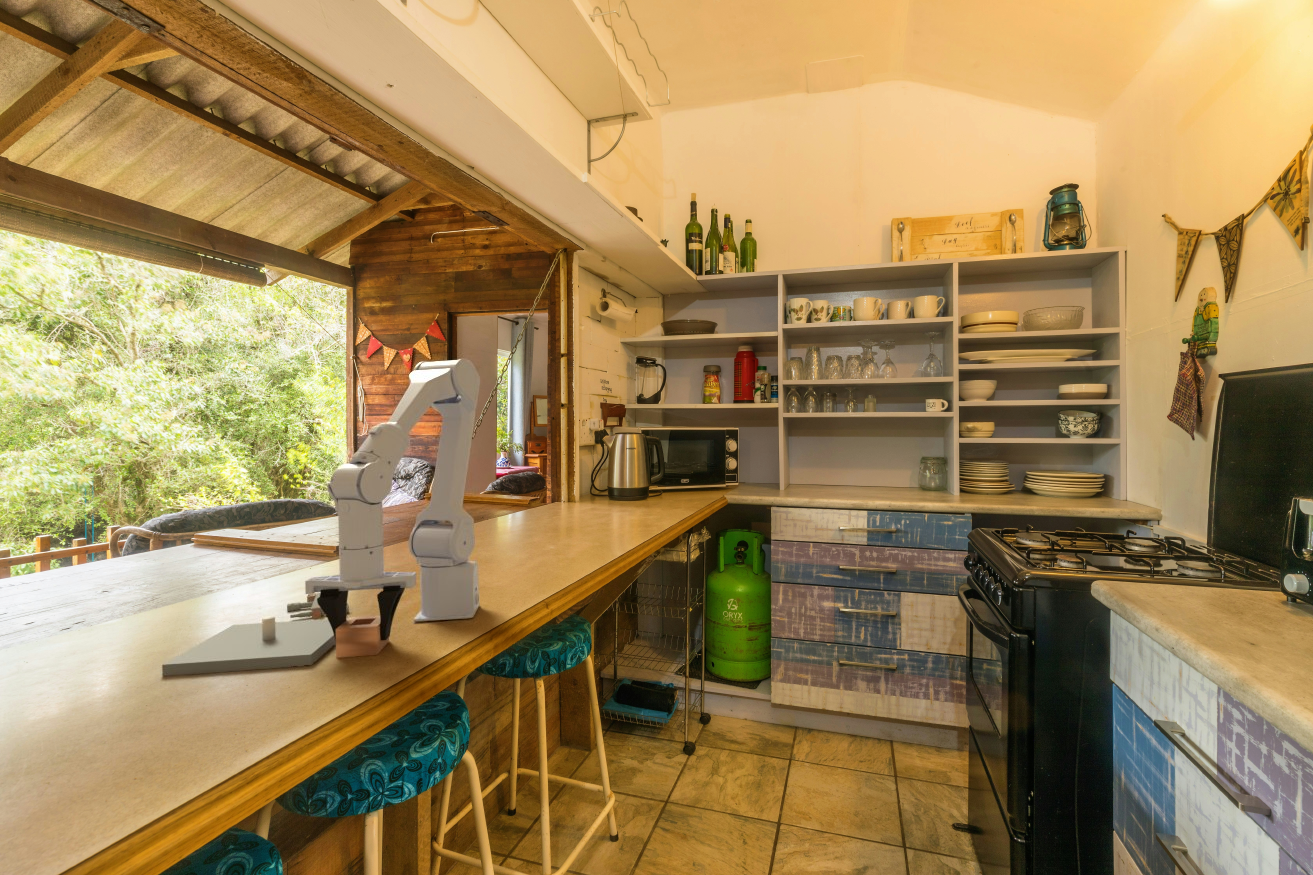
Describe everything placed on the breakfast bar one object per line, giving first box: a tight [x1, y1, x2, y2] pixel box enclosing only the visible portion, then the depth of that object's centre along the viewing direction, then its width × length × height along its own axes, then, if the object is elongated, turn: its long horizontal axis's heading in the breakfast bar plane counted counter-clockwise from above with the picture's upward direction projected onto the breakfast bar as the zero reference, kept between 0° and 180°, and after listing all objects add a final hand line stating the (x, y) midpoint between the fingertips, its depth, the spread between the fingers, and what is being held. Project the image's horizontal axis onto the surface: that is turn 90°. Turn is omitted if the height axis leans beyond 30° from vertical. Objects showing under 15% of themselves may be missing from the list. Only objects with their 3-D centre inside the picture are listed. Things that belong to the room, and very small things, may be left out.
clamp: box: [286, 592, 350, 619], centre depth 102 cm, size 15×2×10 cm
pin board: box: [161, 615, 350, 677], centre depth 84 cm, size 18×16×4 cm
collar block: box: [335, 614, 390, 659], centre depth 83 cm, size 5×5×4 cm
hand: (363, 639), depth 83 cm, fingers closed on collar block, 5 cm apart
